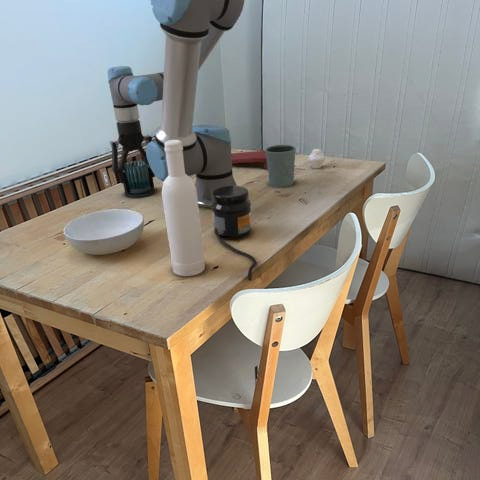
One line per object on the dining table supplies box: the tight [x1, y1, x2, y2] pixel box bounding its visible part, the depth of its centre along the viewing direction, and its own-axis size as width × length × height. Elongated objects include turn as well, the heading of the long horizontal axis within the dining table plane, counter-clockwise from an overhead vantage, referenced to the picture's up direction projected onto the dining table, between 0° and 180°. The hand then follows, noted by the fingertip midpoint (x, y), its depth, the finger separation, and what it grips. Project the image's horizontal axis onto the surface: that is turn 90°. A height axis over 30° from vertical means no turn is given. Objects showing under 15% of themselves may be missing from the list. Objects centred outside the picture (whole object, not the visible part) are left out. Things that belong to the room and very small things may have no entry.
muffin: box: [308, 148, 326, 170], centre depth 181 cm, size 6×6×7 cm
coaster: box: [123, 187, 157, 199], centre depth 169 cm, size 11×11×1 cm
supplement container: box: [211, 185, 253, 241], centre depth 132 cm, size 10×10×12 cm
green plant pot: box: [264, 144, 297, 188], centre depth 166 cm, size 10×10×12 cm
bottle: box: [161, 140, 206, 277], centre depth 110 cm, size 8×8×30 cm
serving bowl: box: [62, 208, 145, 256], centre depth 130 cm, size 21×21×7 cm
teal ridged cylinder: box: [124, 160, 151, 194], centre depth 167 cm, size 9×8×8 cm
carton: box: [231, 149, 268, 170], centre depth 192 cm, size 12×5×25 cm
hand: (139, 189), depth 169 cm, fingers closed on teal ridged cylinder, 8 cm apart
